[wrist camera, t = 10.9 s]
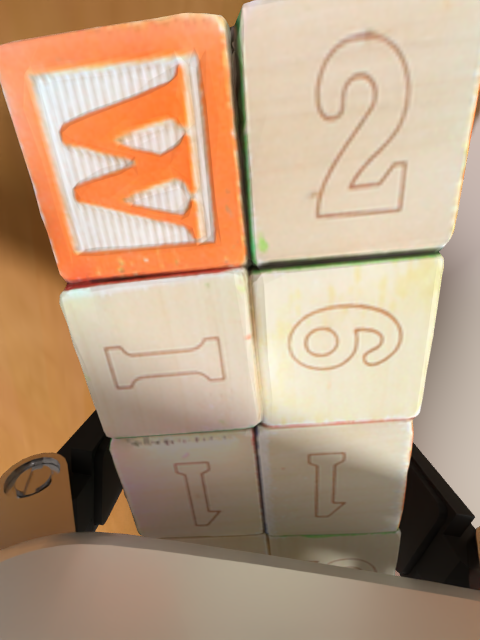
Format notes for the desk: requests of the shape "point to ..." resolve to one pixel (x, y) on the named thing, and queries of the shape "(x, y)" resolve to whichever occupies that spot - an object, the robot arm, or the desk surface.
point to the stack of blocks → (255, 254)
